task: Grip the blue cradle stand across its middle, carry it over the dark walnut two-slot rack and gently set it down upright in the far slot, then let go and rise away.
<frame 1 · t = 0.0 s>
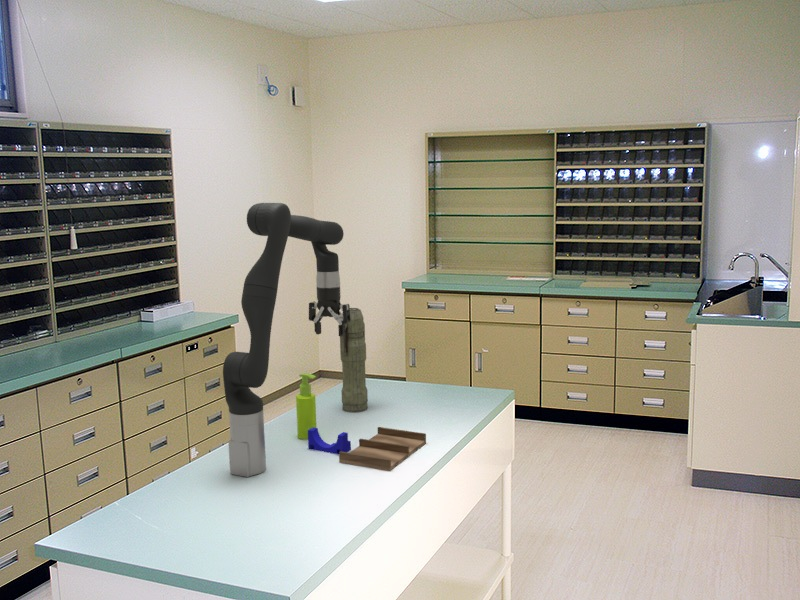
hand: (330, 335, 252), 29 cm above the table, fingers open, 8 cm apart
blue cradle stand: (329, 450, 232), on the table
thermos: (354, 409, 271), on the table
rack: (384, 452, 228), on the table
soap dispenser: (308, 437, 243), on the table
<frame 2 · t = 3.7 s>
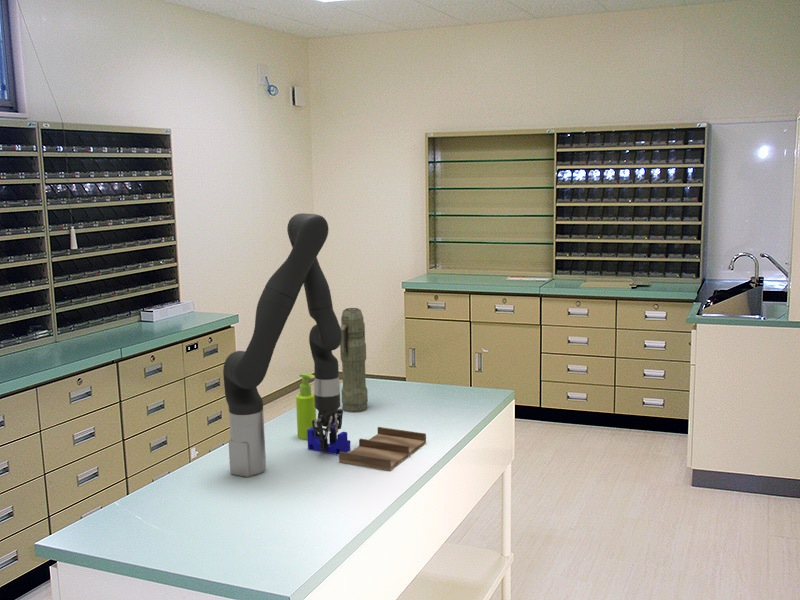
hand: (328, 447, 231), 1 cm above the table, fingers closed on blue cradle stand, 4 cm apart
blue cradle stand: (329, 450, 231), on the table, touching gripper
everything else where it was.
when the fingers open (3 cm above the table, at t = 9.2 s): blue cradle stand drops 1 cm, resting on rack.
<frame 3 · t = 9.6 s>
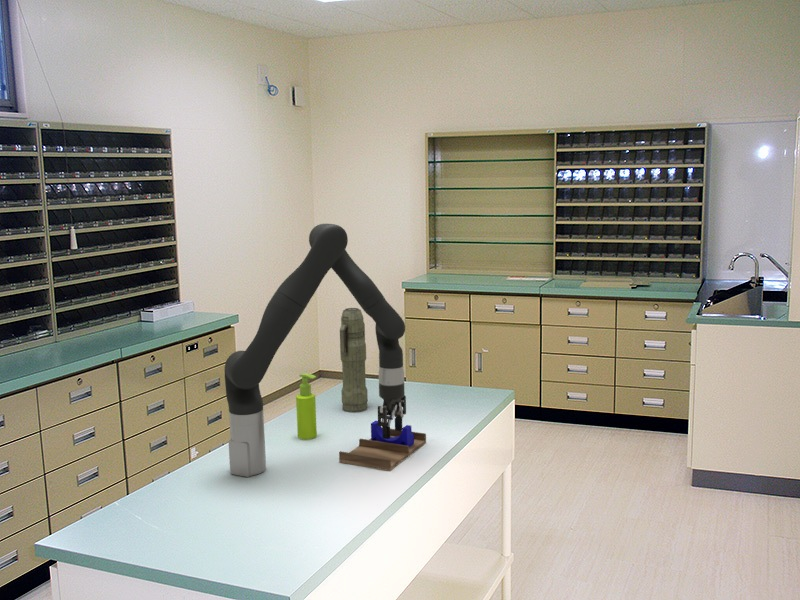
hand: (392, 434, 233), 4 cm above the table, fingers open, 7 cm apart
blue cradle stand: (392, 443, 233), point 1 cm above the table, touching rack
everything else where it was.
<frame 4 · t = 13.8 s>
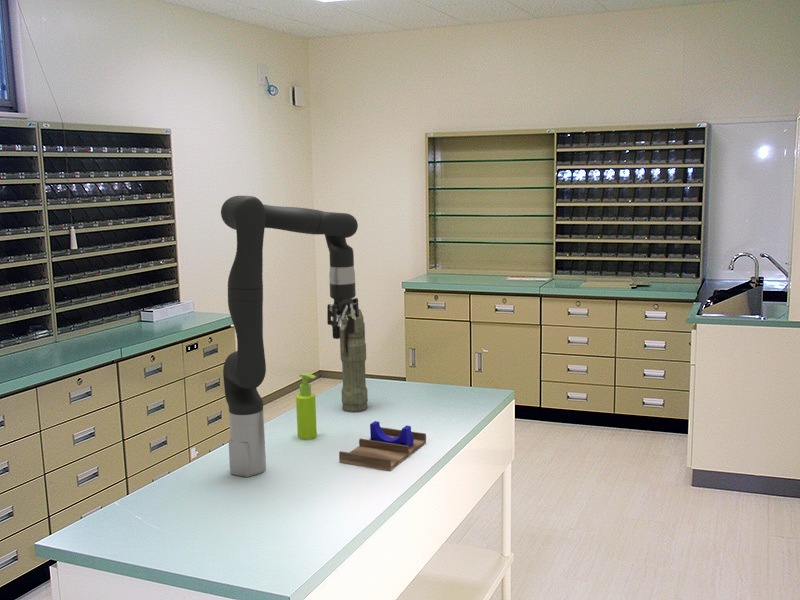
hand: (344, 335, 231), 33 cm above the table, fingers open, 8 cm apart
nothing on the table moved.
at the end: blue cradle stand inside the target area on the rack (0.9 cm from its centre), point 0.8 cm above the rack's base; blue cradle stand tilted 0°; the gripper is holding nothing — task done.
